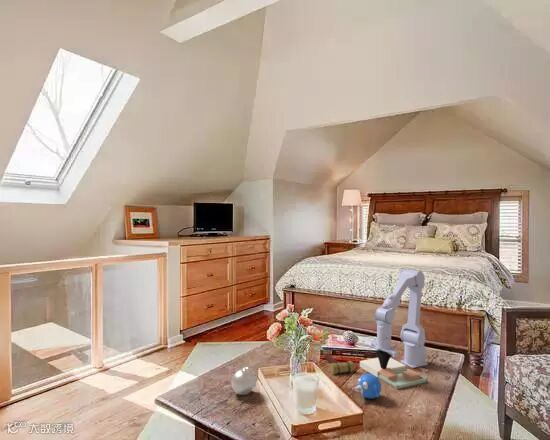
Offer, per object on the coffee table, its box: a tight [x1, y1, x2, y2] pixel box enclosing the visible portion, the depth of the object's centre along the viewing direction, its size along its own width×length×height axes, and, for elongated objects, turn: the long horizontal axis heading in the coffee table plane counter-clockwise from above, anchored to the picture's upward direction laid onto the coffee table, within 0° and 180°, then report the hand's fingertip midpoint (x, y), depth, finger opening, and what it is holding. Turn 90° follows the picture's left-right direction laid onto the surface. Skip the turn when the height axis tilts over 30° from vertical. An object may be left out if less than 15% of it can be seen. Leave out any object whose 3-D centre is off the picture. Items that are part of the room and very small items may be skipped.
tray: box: [377, 367, 428, 390], centre depth 149 cm, size 16×11×2 cm
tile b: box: [380, 368, 398, 381], centre depth 150 cm, size 5×5×2 cm
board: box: [359, 357, 407, 378], centre depth 160 cm, size 16×12×2 cm
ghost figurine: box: [230, 366, 257, 396], centre depth 136 cm, size 9×10×10 cm
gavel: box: [323, 353, 355, 375], centre depth 164 cm, size 21×5×10 cm
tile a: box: [402, 369, 421, 381], centre depth 150 cm, size 5×5×2 cm
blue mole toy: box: [351, 373, 382, 400], centre depth 134 cm, size 12×12×8 cm
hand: (383, 368), depth 152 cm, fingers closed
